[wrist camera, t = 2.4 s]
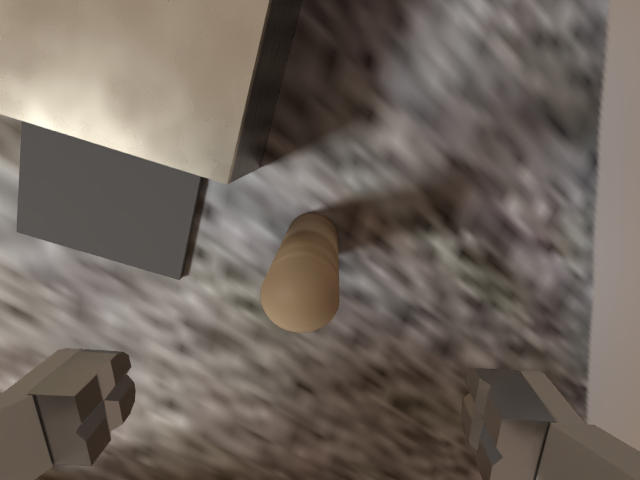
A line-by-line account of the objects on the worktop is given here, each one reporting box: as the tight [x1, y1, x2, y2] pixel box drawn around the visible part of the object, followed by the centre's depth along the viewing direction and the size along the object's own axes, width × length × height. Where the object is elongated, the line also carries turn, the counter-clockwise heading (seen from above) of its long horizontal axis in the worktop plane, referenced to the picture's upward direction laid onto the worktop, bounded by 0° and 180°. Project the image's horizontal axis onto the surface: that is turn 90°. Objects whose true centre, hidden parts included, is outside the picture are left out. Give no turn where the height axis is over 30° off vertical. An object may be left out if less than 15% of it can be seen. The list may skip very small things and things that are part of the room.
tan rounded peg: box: [260, 213, 339, 333], centre depth 17 cm, size 3×3×8 cm
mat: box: [17, 121, 203, 280], centre depth 21 cm, size 8×10×1 cm
